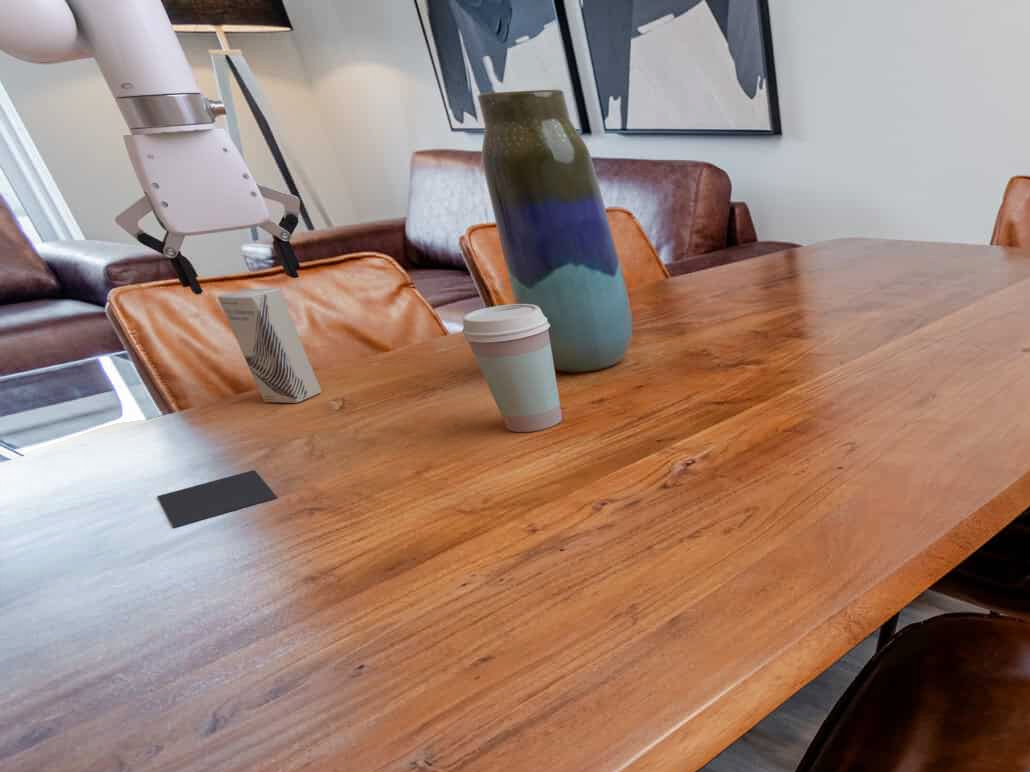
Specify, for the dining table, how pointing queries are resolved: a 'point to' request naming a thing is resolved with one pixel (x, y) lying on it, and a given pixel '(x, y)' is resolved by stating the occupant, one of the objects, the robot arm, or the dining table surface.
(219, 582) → the dining table surface
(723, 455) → the dining table surface
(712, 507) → the dining table surface
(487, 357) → the coffee cup
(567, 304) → the vase
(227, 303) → the box
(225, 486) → the edge mat
